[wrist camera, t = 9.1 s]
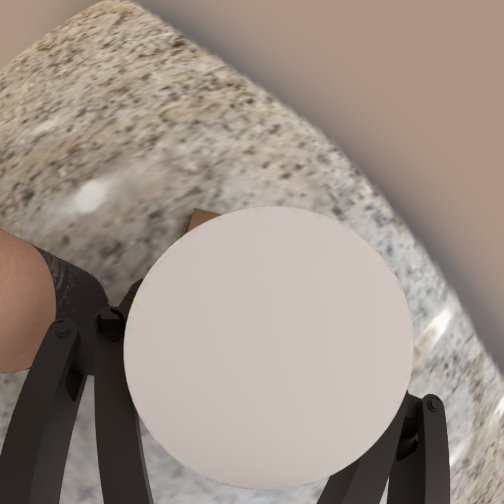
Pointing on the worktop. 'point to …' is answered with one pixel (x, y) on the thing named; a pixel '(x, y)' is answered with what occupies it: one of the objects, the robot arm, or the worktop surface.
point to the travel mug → (39, 299)
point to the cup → (268, 348)
